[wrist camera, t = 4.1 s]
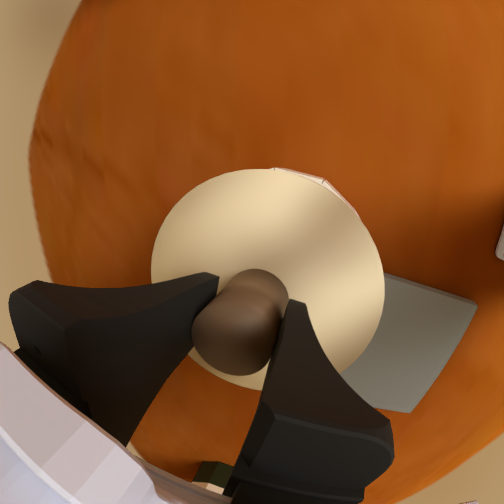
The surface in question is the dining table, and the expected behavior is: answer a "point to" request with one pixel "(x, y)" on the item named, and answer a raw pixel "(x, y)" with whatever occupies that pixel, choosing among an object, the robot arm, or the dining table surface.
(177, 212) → the lid
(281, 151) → the dining table surface
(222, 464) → the wine bottle
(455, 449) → the dining table surface
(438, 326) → the mat
